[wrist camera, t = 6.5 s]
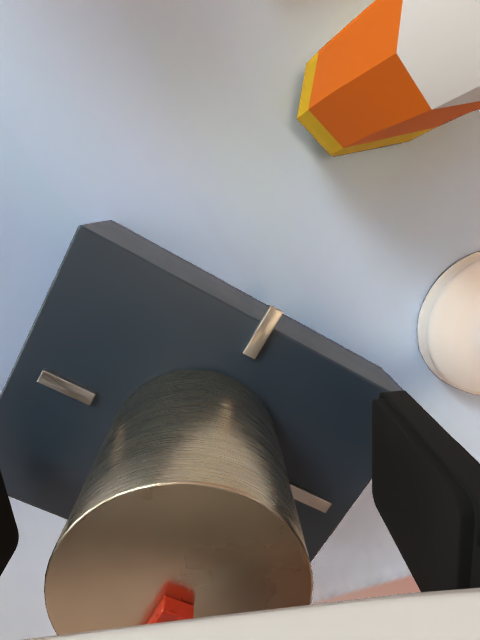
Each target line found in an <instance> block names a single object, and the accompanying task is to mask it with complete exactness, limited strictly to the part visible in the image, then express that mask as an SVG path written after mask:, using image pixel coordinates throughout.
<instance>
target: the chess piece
mask: <svg viewBox="0 0 480 640" xmlns="http://www.w3.org/2000/svg"><path fill="white" fill-rule="evenodd" d="M417 335H418V344H419V348H420V352H421V354H422V357H423V359H424V361H425V363H426V364H427V366H428V367H429V368H430V370H431V371H432V372H433V373H434V374H435V375H436V376H437V377H438V378H440V379H441V380H443V381H444V382H446V383H448V384H450V385H452V386H454V387H456V388H458V389H460V390H462V391H465V392H468V393H471V394H476V395H480V251H479V252H477V253H474V254H471V255H469V256H467V257H465V258H463V259H462V260H460V261H458V262H457V263H455V264H454V265H453V266H451V267H450V268H449V269H448V270H447V271H445V272H444V273H443V274H442V275H441V276H440V278H439V279H438V280H437V281H436V282H435V284H434V285H433V286H432V288H431V289H430V291H429V293H428V294H427V296H426V298H425V300H424V303H423V305H422V308H421V311H420V315H419V319H418V328H417Z"/></svg>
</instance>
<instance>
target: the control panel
mask: <svg viewBox="0 0 480 640" xmlns="http://www.w3.org/2000/svg"><path fill="white" fill-rule="evenodd" d="M185 369H203V370H210V371H215V372H219V373H222V374H225V375H228V376H230V377H233V378H235V379H237V380H238V381H240V382H242V383H243V384H245V385H246V386H247V387H249V388H250V389H251V390H253V391H254V392H255V393H256V394H257V395H258V396H259V397H260V399H261V400H262V401H263V403H264V404H265V405H266V407H267V409H268V411H269V413H270V415H271V417H272V420H273V422H274V426H275V430H276V434H277V437H278V441H279V445H280V449H281V453H282V456H283V460H284V464H285V468H286V472H287V475H288V479H289V483H290V487H291V491H292V494H293V498H294V502H295V506H296V510H297V513H298V517H299V521H300V525H301V529H302V533H303V536H304V540H305V544H306V548H307V552H308V555H309V559H310V562H311V561H312V560H313V558H314V557H315V556H316V554H317V553H318V551H319V550H320V549H321V547H322V546H323V545H324V543H325V542H326V540H327V539H328V538H329V536H330V535H331V534H332V532H333V531H334V530H335V528H336V527H337V525H338V524H339V523H340V521H341V520H342V519H343V517H344V516H345V514H346V513H347V512H348V510H349V509H350V508H351V506H352V505H353V503H354V502H355V501H356V499H357V498H358V497H359V495H360V494H361V493H362V491H363V490H364V488H365V487H366V486H367V484H368V483H369V482H370V480H371V479H372V401H373V399H378V398H379V394H380V393H381V392H390V391H399V390H403V389H402V388H401V387H400V386H399V385H398V384H397V383H396V382H395V381H394V380H393V379H392V378H391V377H390V376H389V375H388V374H387V373H386V372H385V371H384V370H383V369H382V368H381V367H379V366H377V365H376V364H374V363H372V362H370V361H368V360H366V359H365V358H363V357H361V356H359V355H357V354H355V353H354V352H352V351H350V350H348V349H346V348H344V347H343V346H341V345H339V344H337V343H335V342H333V341H332V340H330V339H328V338H326V337H324V336H323V335H321V334H319V333H317V332H315V331H313V330H312V329H310V328H308V327H306V326H304V325H302V324H301V323H299V322H297V321H295V320H293V319H291V318H290V317H288V316H286V315H284V314H283V312H282V311H281V310H279V309H278V308H276V307H274V306H272V305H270V306H268V305H266V304H264V303H262V302H260V301H259V300H257V299H255V298H253V297H251V296H249V295H248V294H246V293H244V292H242V291H240V290H238V289H237V288H235V287H233V286H231V285H229V284H227V283H226V282H224V281H222V280H220V279H218V278H216V277H215V276H213V275H211V274H209V273H207V272H206V271H204V270H202V269H200V268H198V267H196V266H195V265H193V264H191V263H189V262H187V261H185V260H184V259H182V258H180V257H178V256H176V255H174V254H173V253H171V252H169V251H167V250H165V249H163V248H162V247H160V246H158V245H156V244H154V243H152V242H151V241H149V240H147V239H145V238H143V237H142V236H140V235H138V234H136V233H134V232H132V231H131V230H129V229H127V228H125V227H123V226H121V225H120V224H118V223H116V222H114V221H112V220H108V221H102V222H96V223H90V224H84V225H80V226H79V227H78V228H77V230H76V233H75V235H74V237H73V239H72V241H71V243H70V246H69V248H68V250H67V252H66V254H65V256H64V259H63V261H62V263H61V265H60V267H59V269H58V272H57V274H56V276H55V278H54V280H53V282H52V284H51V287H50V289H49V291H48V293H47V295H46V297H45V300H44V302H43V304H42V306H41V308H40V310H39V313H38V315H37V317H36V319H35V321H34V323H33V326H32V328H31V330H30V332H29V334H28V336H27V339H26V341H25V343H24V345H23V347H22V349H21V352H20V354H19V356H18V358H17V360H16V362H15V365H14V367H13V369H12V371H11V373H10V375H9V378H8V380H7V382H6V384H5V386H4V388H3V391H2V393H1V395H0V470H1V473H2V477H3V480H4V484H5V487H6V491H7V494H8V496H10V497H12V498H15V499H17V500H20V501H22V502H25V503H27V504H30V505H32V506H35V507H37V508H40V509H42V510H45V511H47V512H50V513H52V514H55V515H57V516H60V517H62V518H65V519H67V520H68V518H69V516H70V513H71V511H72V509H73V507H74V505H75V503H76V501H77V498H78V496H79V494H80V492H81V490H82V488H83V486H84V483H85V481H86V479H87V477H88V475H89V473H90V471H91V468H92V466H93V464H94V462H95V460H96V458H97V456H98V454H99V451H100V449H101V447H102V445H103V443H104V441H105V439H106V436H107V434H108V432H109V430H110V428H111V426H112V424H113V421H114V419H115V417H116V415H117V413H118V411H119V409H120V408H121V406H122V405H123V403H124V402H125V401H126V399H127V398H128V397H129V396H130V395H131V394H132V393H133V392H134V391H135V390H136V389H137V388H138V387H140V386H141V385H143V384H144V383H146V382H147V381H149V380H151V379H153V378H155V377H157V376H160V375H163V374H165V373H168V372H173V371H177V370H185Z"/></svg>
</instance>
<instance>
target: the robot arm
mask: <svg viewBox="0 0 480 640" xmlns="http://www.w3.org/2000/svg"><path fill="white" fill-rule="evenodd" d="M372 493H373V499H374V502H375V505H376V507H377V509H378V511H379V513H380V515H381V517H382V519H383V521H384V523H385V525H386V526H387V528H388V530H389V532H390V534H391V536H392V538H393V540H394V542H395V543H396V545H397V547H398V549H399V551H400V553H401V555H402V557H403V559H404V561H405V562H406V564H407V566H408V568H409V570H410V572H411V574H412V576H413V578H414V579H415V581H416V583H417V585H418V587H419V589H420V591H421V592H418V593H407V594H399V595H390V596H381V597H372V598H364V599H355V600H346V601H338V602H329V603H320V604H312V605H303V606H295V607H286V608H278V609H269V610H260V611H252V612H243V613H235V614H226V615H218V616H209V617H201V618H193V619H185V620H177V621H169V622H160V623H152V624H144V625H136V626H128V627H120V628H112V629H104V630H96V631H88V632H80V633H72V634H64V635H56V636H48V637H40V638H32V639H24V640H480V464H479V463H478V462H477V461H476V460H475V459H474V458H473V457H472V456H471V455H470V454H469V453H468V452H467V451H466V450H465V449H464V448H463V447H462V446H461V445H460V444H459V443H458V442H457V441H455V440H454V439H453V438H452V437H451V436H450V435H449V434H448V433H447V432H446V431H445V430H444V429H443V428H442V427H441V426H440V425H439V424H438V423H437V422H436V421H435V420H434V419H433V418H432V417H431V416H430V415H429V414H428V413H427V412H426V411H425V410H424V409H423V408H422V407H421V406H420V405H419V404H418V403H417V402H416V401H415V400H414V399H413V398H412V397H411V396H410V395H409V394H408V393H407V392H406V391H404V390H399V391H390V392H381V393H380V394H379V398H378V399H373V401H372ZM18 539H19V533H18V529H17V525H16V522H15V518H14V515H13V512H12V508H11V505H10V501H9V498H8V494H7V491H6V487H5V484H4V480H3V477H2V473H1V470H0V576H1V574H2V572H3V571H4V569H5V567H6V565H7V564H8V562H9V560H10V558H11V557H12V555H13V553H14V551H15V550H16V547H17V544H18Z"/></svg>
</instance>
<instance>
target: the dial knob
mask: <svg viewBox="0 0 480 640" xmlns="http://www.w3.org/2000/svg"><path fill="white" fill-rule="evenodd" d="M312 590H313V576H312V569H311V564H310V559H309V555H308V552H307V548H306V544H305V540H304V536H303V533H302V529H301V525H300V521H299V517H298V513H297V510H296V506H295V502H294V498H293V494H292V491H291V487H290V483H289V479H288V475H287V472H286V468H285V464H284V460H283V456H282V453H281V449H280V445H279V441H278V437H277V434H276V430H275V426H274V422H273V420H272V417H271V415H270V413H269V411H268V409H267V407H266V405H265V404H264V403H263V401H262V400H261V399H260V397H259V396H258V395H257V394H256V393H255V392H254V391H253V390H251V389H250V388H249V387H247V386H246V385H245V384H243V383H242V382H240V381H238V380H237V379H235V378H233V377H230V376H228V375H225V374H222V373H219V372H215V371H210V370H203V369H185V370H177V371H173V372H168V373H165V374H163V375H160V376H157V377H155V378H153V379H151V380H149V381H147V382H146V383H144V384H143V385H141V386H140V387H138V388H137V389H136V390H135V391H134V392H133V393H132V394H131V395H130V396H129V397H128V398H127V399H126V401H125V402H124V403H123V405H122V406H121V408H120V409H119V411H118V413H117V415H116V417H115V419H114V421H113V424H112V426H111V428H110V430H109V432H108V434H107V436H106V439H105V441H104V443H103V445H102V447H101V449H100V451H99V454H98V456H97V458H96V460H95V462H94V464H93V466H92V468H91V471H90V473H89V475H88V477H87V479H86V481H85V483H84V486H83V488H82V490H81V492H80V494H79V496H78V498H77V501H76V503H75V505H74V507H73V509H72V511H71V513H70V516H69V518H68V520H67V522H66V524H65V526H64V528H63V531H62V533H61V535H60V537H59V539H58V541H57V543H56V545H55V548H54V550H53V552H52V555H51V557H50V559H49V562H48V566H47V570H46V574H45V585H44V594H45V604H46V608H47V612H48V616H49V619H50V621H51V624H52V626H53V628H54V630H55V632H56V634H57V635H64V634H72V633H80V632H88V631H96V630H104V629H112V628H120V627H128V626H136V625H144V624H152V623H160V622H169V621H177V620H185V619H193V618H201V617H209V616H218V615H226V614H235V613H243V612H252V611H260V610H269V609H278V608H286V607H295V606H303V605H310V603H311V598H312Z"/></svg>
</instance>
